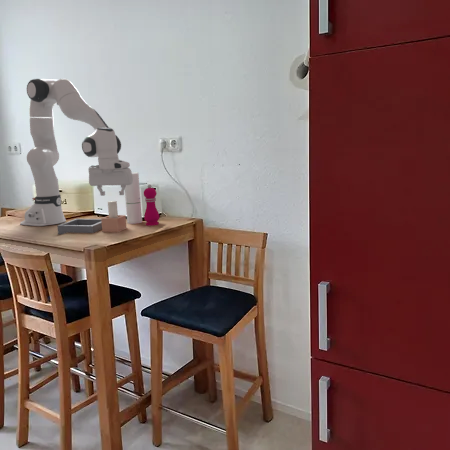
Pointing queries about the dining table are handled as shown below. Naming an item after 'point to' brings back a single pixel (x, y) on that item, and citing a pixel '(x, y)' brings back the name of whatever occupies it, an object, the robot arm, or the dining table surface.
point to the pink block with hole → (113, 223)
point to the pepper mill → (151, 207)
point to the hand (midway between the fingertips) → (112, 195)
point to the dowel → (112, 209)
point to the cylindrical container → (133, 201)
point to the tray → (80, 226)
